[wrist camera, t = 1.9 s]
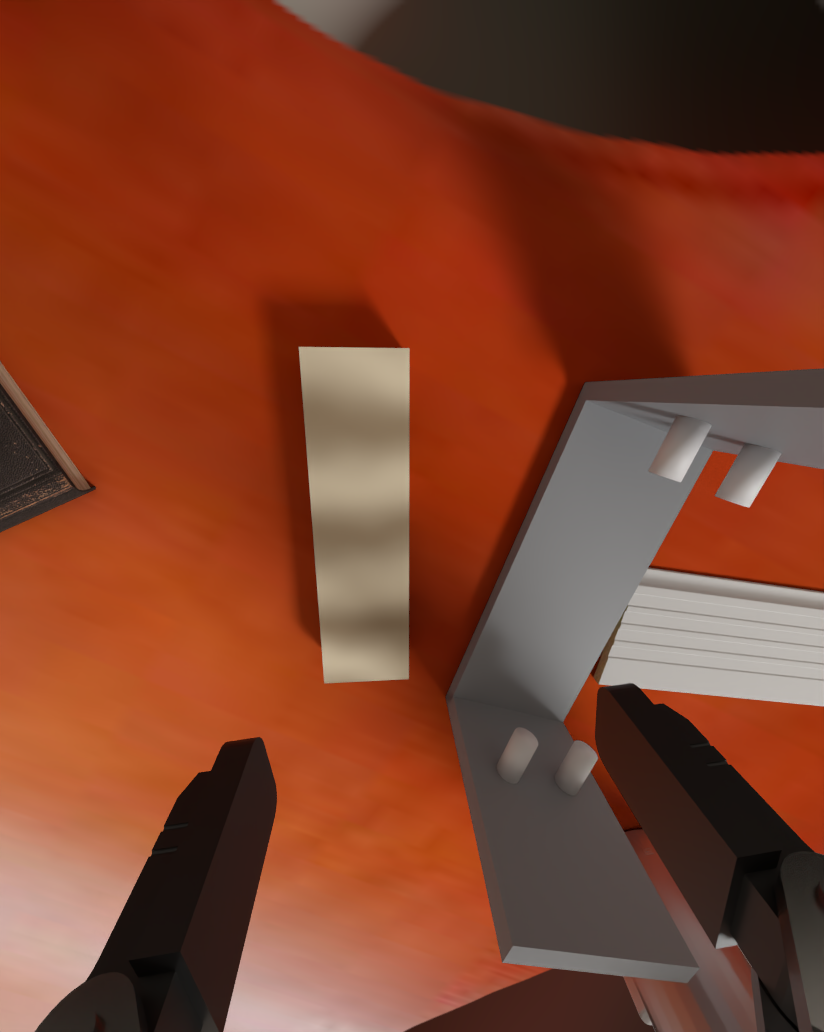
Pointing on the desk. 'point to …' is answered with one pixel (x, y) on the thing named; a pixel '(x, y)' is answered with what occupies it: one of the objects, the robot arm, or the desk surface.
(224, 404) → the desk surface
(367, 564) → the shelf board
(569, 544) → the shelf frame
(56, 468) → the hardcover book
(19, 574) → the desk surface
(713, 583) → the baseboard
